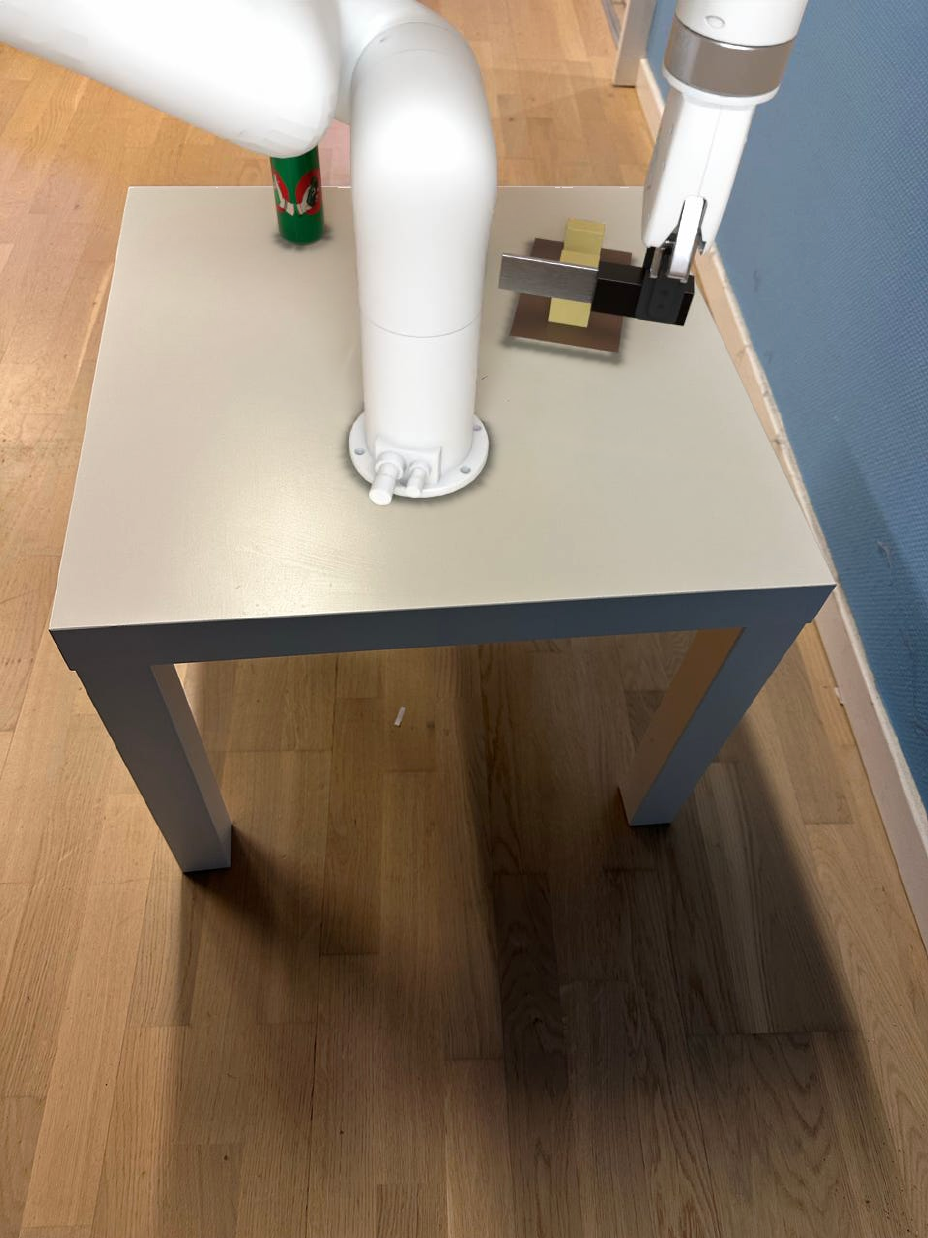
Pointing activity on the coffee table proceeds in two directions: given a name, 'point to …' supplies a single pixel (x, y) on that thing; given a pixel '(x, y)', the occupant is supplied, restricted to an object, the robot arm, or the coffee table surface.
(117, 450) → the coffee table surface
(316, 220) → the soda can
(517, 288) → the knife
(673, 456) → the coffee table surface
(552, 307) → the butter block
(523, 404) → the coffee table surface
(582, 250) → the butter pat
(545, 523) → the coffee table surface
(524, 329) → the board
